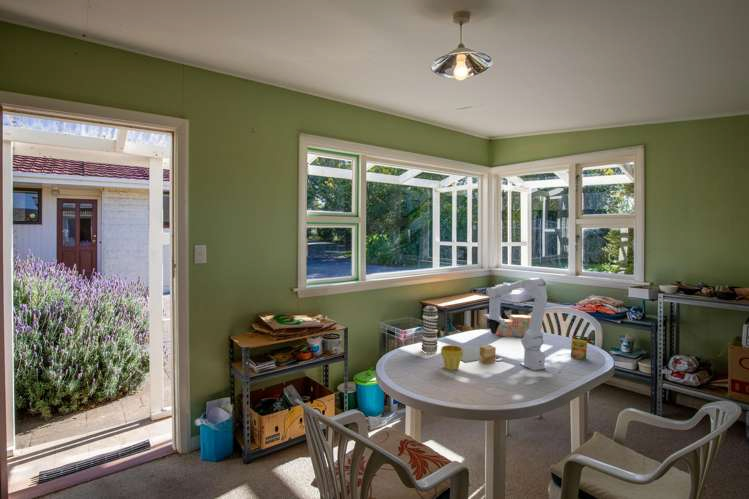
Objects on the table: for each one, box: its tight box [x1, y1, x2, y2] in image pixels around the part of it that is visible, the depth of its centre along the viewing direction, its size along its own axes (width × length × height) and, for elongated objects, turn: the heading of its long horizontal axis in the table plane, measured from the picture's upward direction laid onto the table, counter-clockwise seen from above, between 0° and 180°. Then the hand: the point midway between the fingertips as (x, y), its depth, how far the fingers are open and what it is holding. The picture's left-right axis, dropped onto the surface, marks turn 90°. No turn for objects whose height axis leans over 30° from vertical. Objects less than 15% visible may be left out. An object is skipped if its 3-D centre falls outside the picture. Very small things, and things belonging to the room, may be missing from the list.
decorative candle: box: [421, 305, 440, 354], centre depth 228 cm, size 9×9×25 cm
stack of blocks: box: [495, 314, 531, 338], centre depth 262 cm, size 21×6×12 cm, turn 85°
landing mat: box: [460, 345, 500, 364], centre depth 226 cm, size 18×22×1 cm
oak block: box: [478, 344, 496, 365], centre depth 214 cm, size 5×6×8 cm
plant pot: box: [440, 344, 463, 371], centre depth 206 cm, size 10×10×10 cm
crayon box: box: [570, 334, 588, 361], centre depth 221 cm, size 7×3×12 cm, turn 62°
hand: (493, 333), depth 229 cm, fingers closed
